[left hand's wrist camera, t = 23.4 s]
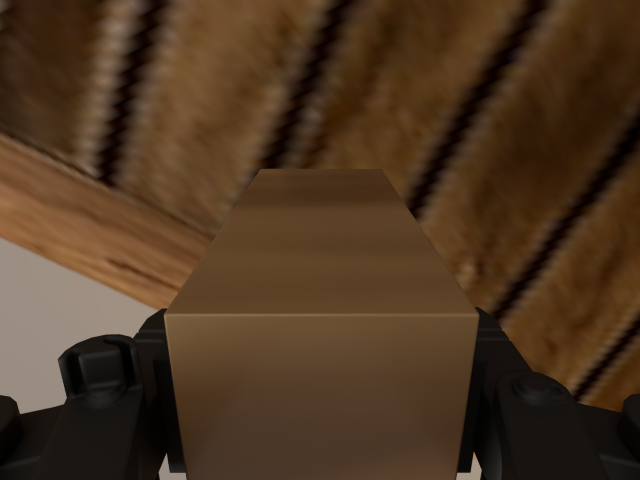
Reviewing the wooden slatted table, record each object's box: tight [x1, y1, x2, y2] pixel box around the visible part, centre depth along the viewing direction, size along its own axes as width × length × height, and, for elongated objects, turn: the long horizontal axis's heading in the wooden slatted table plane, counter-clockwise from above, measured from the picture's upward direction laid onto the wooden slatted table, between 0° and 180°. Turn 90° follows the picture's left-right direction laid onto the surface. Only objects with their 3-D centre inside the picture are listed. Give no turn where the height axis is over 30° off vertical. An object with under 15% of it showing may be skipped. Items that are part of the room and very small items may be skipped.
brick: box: [164, 169, 479, 480], centre depth 13 cm, size 6×5×11 cm
